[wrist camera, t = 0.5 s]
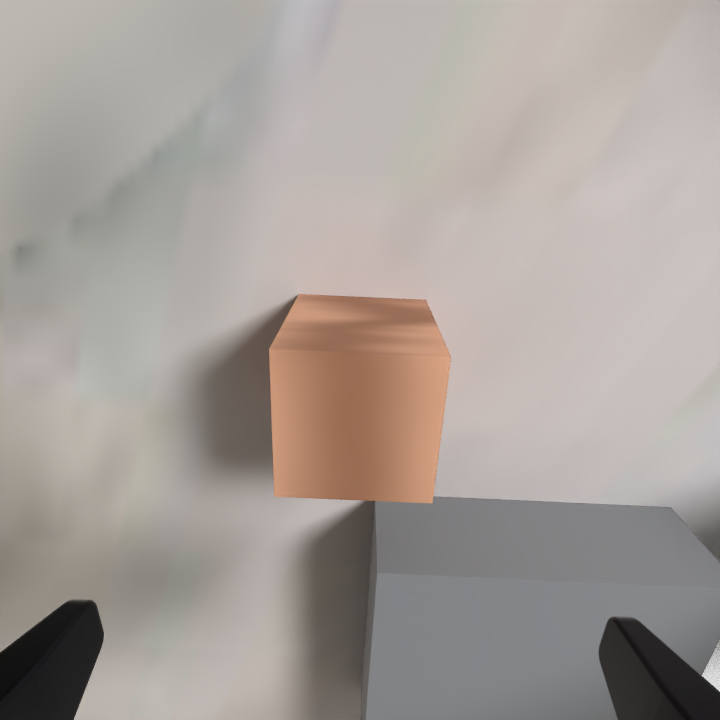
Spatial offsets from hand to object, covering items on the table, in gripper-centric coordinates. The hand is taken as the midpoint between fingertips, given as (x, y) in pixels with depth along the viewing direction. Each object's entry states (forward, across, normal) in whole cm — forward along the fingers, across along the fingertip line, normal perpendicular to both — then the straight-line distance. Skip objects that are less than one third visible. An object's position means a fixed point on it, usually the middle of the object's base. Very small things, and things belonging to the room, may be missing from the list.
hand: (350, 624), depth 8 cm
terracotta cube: (+12, 0, 0) cm, 12 cm away
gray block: (+12, -8, +14) cm, 20 cm away
